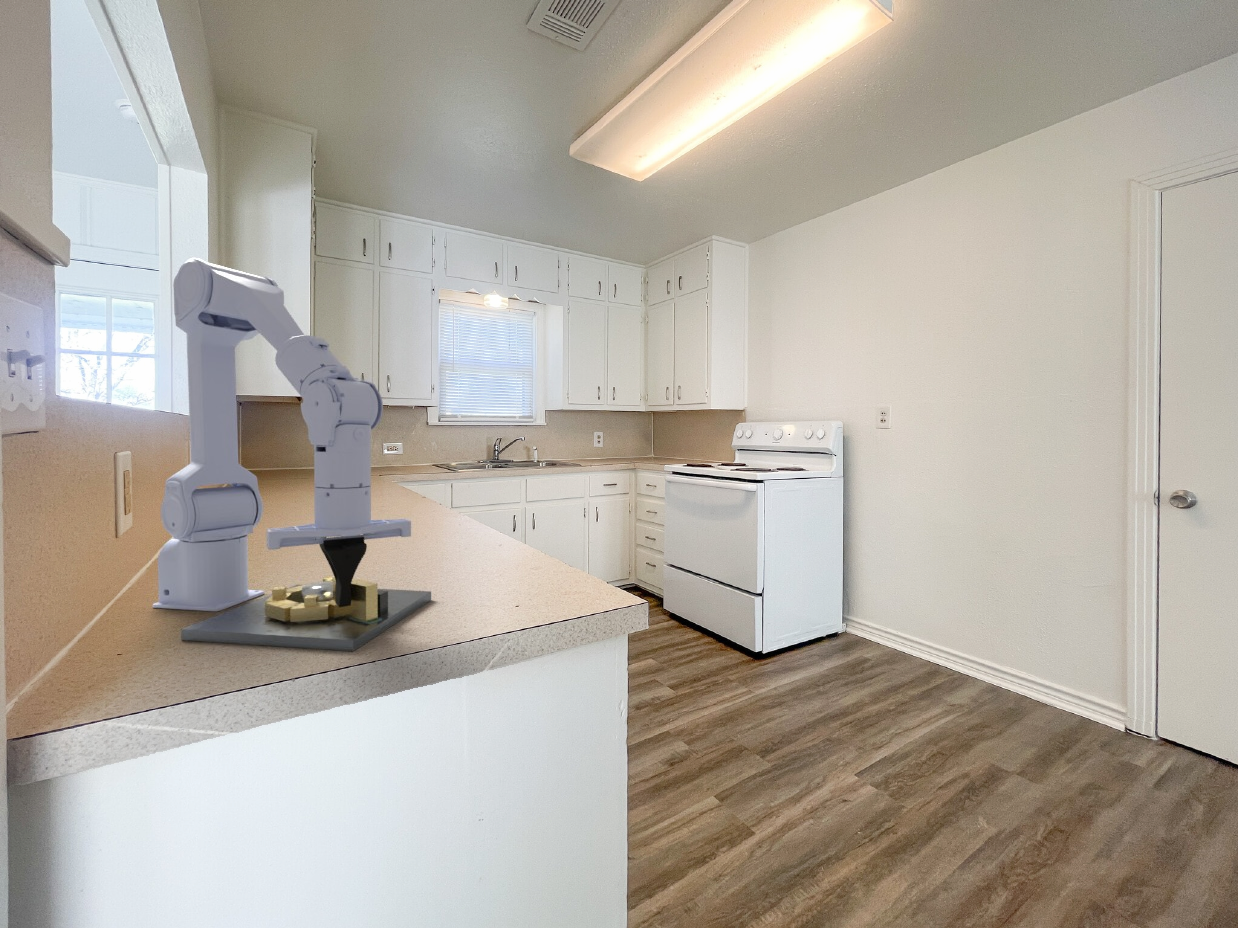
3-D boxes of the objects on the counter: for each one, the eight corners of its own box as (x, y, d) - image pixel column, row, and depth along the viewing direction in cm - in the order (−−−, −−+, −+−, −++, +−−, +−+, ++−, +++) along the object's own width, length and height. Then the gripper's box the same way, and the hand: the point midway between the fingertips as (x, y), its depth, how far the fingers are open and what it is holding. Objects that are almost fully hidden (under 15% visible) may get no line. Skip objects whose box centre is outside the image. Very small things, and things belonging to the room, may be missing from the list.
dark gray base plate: (181, 639, 59) (180, 604, 58) (297, 592, 76) (296, 565, 76) (353, 651, 56) (353, 613, 56) (431, 599, 74) (431, 571, 74)
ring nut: (248, 610, 64) (247, 577, 64) (334, 588, 74) (334, 559, 74) (326, 634, 57) (326, 597, 57) (410, 606, 67) (410, 574, 67)
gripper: (271, 492, 53) (272, 627, 54) (419, 486, 62) (419, 601, 63) (263, 486, 59) (265, 608, 59) (401, 481, 68) (400, 587, 68)
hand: (343, 604), depth 61 cm, fingers closed, pressing on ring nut
